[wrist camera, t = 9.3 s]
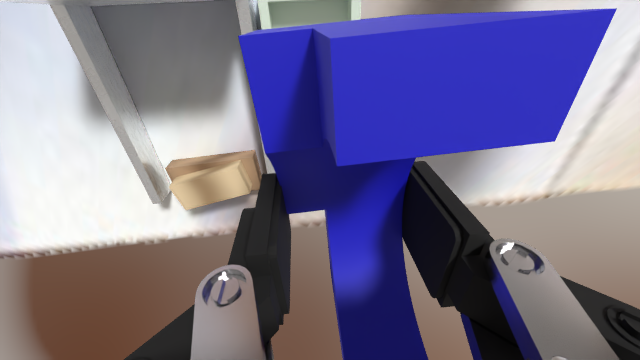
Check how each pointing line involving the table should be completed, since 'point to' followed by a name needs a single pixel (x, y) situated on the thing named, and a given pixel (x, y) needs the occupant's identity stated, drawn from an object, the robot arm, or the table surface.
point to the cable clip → (402, 130)
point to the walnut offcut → (205, 162)
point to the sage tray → (306, 12)
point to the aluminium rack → (109, 86)
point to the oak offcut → (211, 185)
